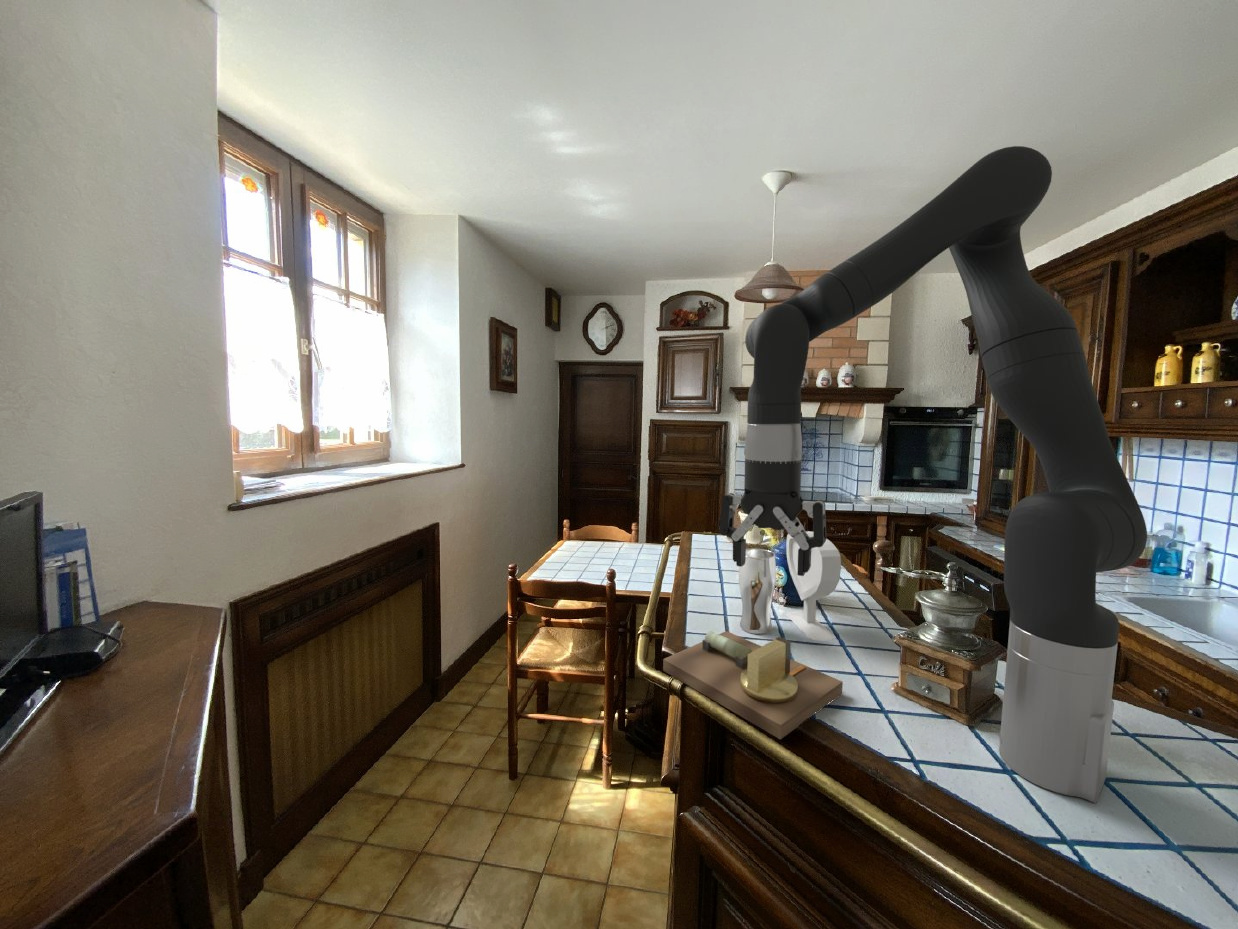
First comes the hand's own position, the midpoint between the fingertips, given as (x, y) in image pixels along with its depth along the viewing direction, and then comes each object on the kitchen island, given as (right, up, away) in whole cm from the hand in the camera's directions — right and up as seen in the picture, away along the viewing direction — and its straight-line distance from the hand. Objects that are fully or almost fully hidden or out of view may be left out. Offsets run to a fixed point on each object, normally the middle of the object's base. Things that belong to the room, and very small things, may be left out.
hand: (770, 569), depth 70 cm
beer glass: (+5, -17, +26) cm, 32 cm away
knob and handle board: (-1, -19, +7) cm, 21 cm away
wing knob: (0, -18, +2) cm, 18 cm away
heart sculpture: (+16, -17, +27) cm, 36 cm away
